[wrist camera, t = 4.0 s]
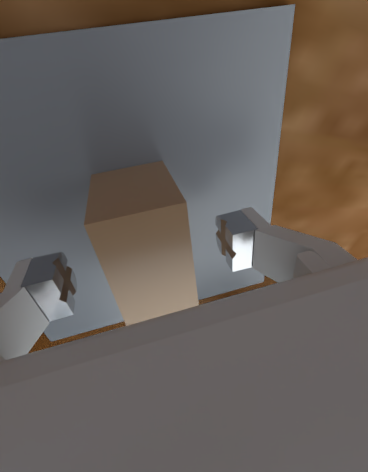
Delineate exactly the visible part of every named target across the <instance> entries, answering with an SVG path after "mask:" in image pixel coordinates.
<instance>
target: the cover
mask: <svg viewBox="0 0 368 472" xmlns="http://www.w3.org/2000/svg"><path fill="white" fill-rule="evenodd" d="M294 10H295V4H293V5H284V6H276V7H267V8H259V9H250V10H242V11H233V12H225V13H216V14H208V15H199V16H191V17H182V18H174V19H165V20H157V21H148V22H140V23H131V24H123V25H114V26H106V27H97V28H89V29H80V30H72V31H63V32H55V33H46V34H38V35H29V36H21V37H12V38H4V39H0V277H1V278H2V279H3V280H4V282H5V283H6V284H7V282H8V280H9V278H10V275H11V273H12V271H13V269H14V267H15V265H16V263H17V262H18V261H20V260H25V259H29V258H34V257H38V256H43V255H47V254H52V253H57V252H63V253H64V254H65V256H66V258H67V259H68V261H67V266H68V267H70V268H72V269H73V271H74V273H75V276H76V281H77V292H76V293H75V294H74V295H73V297H74V299H75V307H74V314H73V315H71V316H67V317H64V318H60V319H57V320H54V321H50V322H49V324H48V326H47V327H46V329H45V330H44V331H43V332H44V333H45V335H46V336H47V337H48V339H49V340H50V341H55V340H59V339H62V338H66V337H69V336H73V335H76V334H80V333H83V332H87V331H90V330H94V329H98V328H101V327H105V326H108V325H112V324H115V323H119V322H122V321H124V322H125V324H126V326H128V325H131V324H135V323H138V322H142V321H145V320H149V319H152V318H156V317H159V316H163V315H166V314H170V313H173V312H177V311H180V310H184V309H187V308H191V307H194V306H198V305H199V303H198V300H201V299H204V298H208V297H211V296H215V295H218V294H222V293H225V292H229V291H233V290H236V289H240V288H243V287H247V286H250V285H254V284H257V283H261V282H264V274H262V273H260V272H258V271H257V270H255V269H253V268H252V267H251V268H247V269H242V270H238V271H234V272H232V270H231V269H230V267H229V266H228V264H227V262H226V256H224V255H222V254H221V252H220V251H219V248H218V246H217V241H216V232H217V231H218V228H217V226H216V225H215V218H216V216H218V215H222V214H226V213H230V212H233V211H237V210H241V209H244V208H248V207H252V208H253V209H254V210H255V211H256V212H257V213H258V214H259V215H260V216H262V217H263V218H264V219H265V220H266V221H267V222H268V223H269V224H270V222H271V213H272V205H273V196H274V187H275V178H276V169H277V160H278V152H279V143H280V134H281V125H282V116H283V107H284V98H285V90H286V81H287V72H288V63H289V54H290V45H291V36H292V28H293V19H294Z"/></svg>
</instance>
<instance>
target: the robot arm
mask: <svg viewBox="0 0 368 472" xmlns="http://www.w3.org/2000/svg"><path fill="white" fill-rule="evenodd" d="M215 225H216V226H217V228H218V231H217V232H216V241H217V246H218V248H219V251H220V252H221V254H222V255H224V256H226V262H227V264H228V266H229V267H230V269H231V270H232V272H234V271H238V270H242V269H247V268H251V267H252V268H253V269H255V270H257V271H258V272H260V273H262V274H264V275H265V276H267V277H269V278H271V279H272V280H274V281H276V282H278V283H276V284H272V285H269V286H265V287H262V288H258V289H255V290H251V291H247V292H244V293H240V294H237V295H233V296H230V297H226V298H223V299H219V300H216V301H212V302H209V303H205V304H201V305H198V306H194V307H191V308H187V309H184V310H180V311H177V312H173V313H170V314H166V315H163V316H159V317H156V318H152V319H149V320H145V321H142V322H138V323H135V324H131V325H128V326H124V327H121V328H117V329H114V330H110V331H107V332H103V333H100V334H96V335H93V336H89V337H86V338H82V339H78V340H75V341H71V342H68V343H64V344H61V345H57V346H54V347H50V348H47V349H43V350H40V351H36V352H33V353H29V354H27V353H28V352H29V351H30V349H31V348H32V347H33V345H34V344H35V342H36V341H37V340H38V338H39V337H40V335H41V334H42V333H43V331H44V330H45V329H46V327H47V326H48V324H49V322H50V321H54V320H57V319H60V318H64V317H67V316H71V315H73V314H74V307H75V299H74V297H73V295H74V294H75V293H76V292H77V281H76V276H75V273H74V271H73V269H72V268H70V267H68V266H67V261H68V259H67V258H66V256H65V254H64V253H63V252H57V253H52V254H47V255H43V256H38V257H34V258H29V259H25V260H20V261H18V262H17V263H16V265H15V267H14V269H13V271H12V273H11V275H10V278H9V280H8V282H7V284H6V286H5V288H4V290H3V292H2V293H0V472H368V257H367V258H364V259H360V260H357V259H356V258H354V257H353V256H352V255H351V254H349V253H348V252H347V251H345V250H344V249H343V248H342V247H340V246H339V245H338V244H336V243H335V242H331V241H328V240H324V239H321V238H317V237H314V236H310V235H307V234H304V233H300V232H297V231H293V230H290V229H286V228H283V227H280V226H276V225H273V226H271V225H270V224H269V223H268V222H267V221H266V220H265V219H264V218H263V217H262V216H260V215H259V214H258V213H257V212H256V211H255V210H254V209H253V208H252V207H248V208H244V209H241V210H237V211H233V212H230V213H226V214H222V215H218V216H216V218H215Z"/></svg>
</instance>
